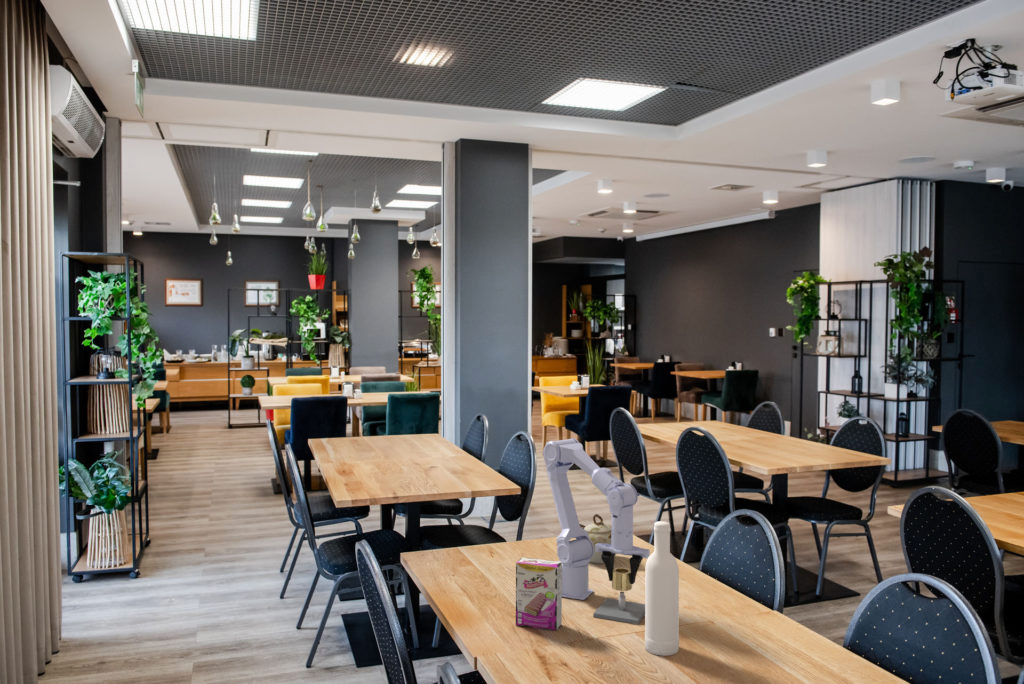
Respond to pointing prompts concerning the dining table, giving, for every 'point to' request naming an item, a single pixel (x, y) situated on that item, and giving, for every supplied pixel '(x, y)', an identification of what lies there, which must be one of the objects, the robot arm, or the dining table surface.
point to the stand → (621, 610)
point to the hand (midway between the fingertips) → (622, 581)
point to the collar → (621, 579)
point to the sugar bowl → (598, 536)
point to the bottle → (662, 595)
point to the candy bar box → (539, 593)
